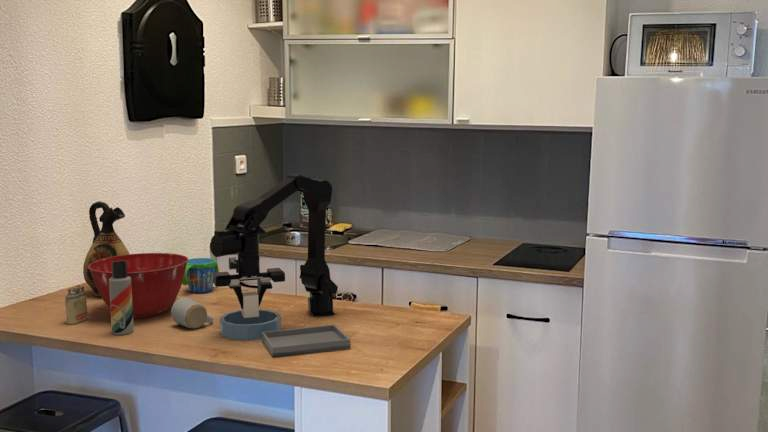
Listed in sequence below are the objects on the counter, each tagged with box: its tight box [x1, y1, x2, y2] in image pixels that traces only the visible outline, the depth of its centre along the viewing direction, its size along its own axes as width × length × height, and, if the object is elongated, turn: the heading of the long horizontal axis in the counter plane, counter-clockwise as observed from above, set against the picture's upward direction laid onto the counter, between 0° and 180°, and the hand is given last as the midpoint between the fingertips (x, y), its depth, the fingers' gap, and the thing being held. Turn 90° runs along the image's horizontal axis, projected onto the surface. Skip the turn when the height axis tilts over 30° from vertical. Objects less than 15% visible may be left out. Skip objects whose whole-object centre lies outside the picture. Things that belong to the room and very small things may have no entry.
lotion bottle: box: [109, 261, 134, 336], centre depth 219 cm, size 6×6×20 cm
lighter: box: [64, 284, 88, 325], centre depth 230 cm, size 7×4×10 cm, turn 163°
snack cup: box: [182, 257, 220, 294], centre depth 265 cm, size 16×10×10 cm
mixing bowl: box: [88, 252, 189, 319], centre depth 240 cm, size 28×28×16 cm
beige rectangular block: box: [240, 291, 260, 318], centre depth 220 cm, size 4×4×6 cm
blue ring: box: [219, 308, 282, 341], centre depth 221 cm, size 16×16×4 cm
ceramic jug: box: [82, 200, 130, 298], centre depth 261 cm, size 17×15×30 cm
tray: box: [261, 324, 351, 358], centre depth 209 cm, size 20×14×2 cm
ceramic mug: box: [170, 296, 214, 330], centre depth 226 cm, size 11×8×8 cm
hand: (250, 307), depth 220 cm, fingers closed on beige rectangular block, 4 cm apart
